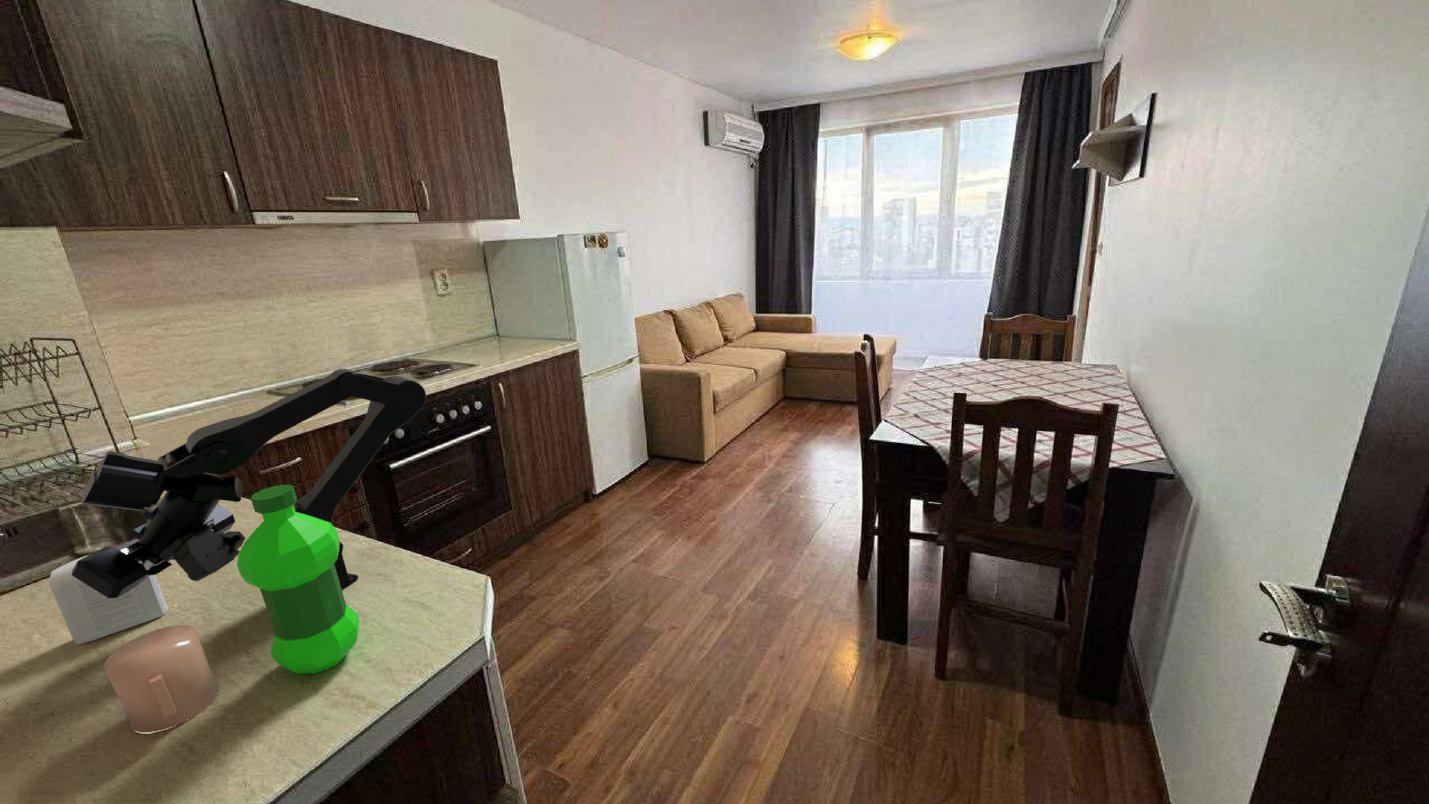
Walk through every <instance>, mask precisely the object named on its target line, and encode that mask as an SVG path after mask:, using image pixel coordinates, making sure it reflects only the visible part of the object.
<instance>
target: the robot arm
mask: <svg viewBox="0 0 1429 804" xmlns="http://www.w3.org/2000/svg"><path fill="white" fill-rule="evenodd" d="M352 397H354V398H358V399H362V400H366V401H369V404H368V406H367V407H368V408H367V411H366V415H365V418H364V420H363V421H361V424H360V425H359V426H358V427H357V429H356V430H355V431H354V433H352V435H351V437H350V438H349V439H348V441H347V442H346V443H345V444H344V446H343V447H341V450H340V451H339V452H338V453H337V455H336V456H335V457H334V459H333V460H332V461H331V463H329V465H328V466H327V468H326V470H325V471H324V472H323V473H322V474H321V475H320V477H319V478H318V479H317V481H316V482H315V484H314V485H313V487H311V489H310V490H309V491H308V492H307V493H306V494H305V495H303V496H301V497H300V498H297V501H296V503H295V504H293V505H294V509H295V512H298V513H302V514H305V515H309V516H312V517H315V518H318V519H321V520H324V521H327V522H329V523H331V524H332V523H333V521H334V517H335V514H336V513H335V512H336V510H337V507H338V506H339V505H340V503H341V502H342V501H343V500H344V498H345V496H346V495H347V494H348V493H349V491H350V490H351V488H352V487H353V486H354V484H355V483H356V482H357V480H358V479H359V477H360V476H361V475H362V474H363V472H364V471H365V469H366V468H367V467H368V465H369V464H370V463H371V461H372V460H373V459H374V457H375V456H376V455H377V453H379V452H378V451H379V450H381V448H382V446H383V445H384V443H386V441H387V439H388V438H389V437H390V436H391V434H392V433H394V432H395V431H397V430H398V429H400V428H401V427H403V426H404V425H406V424H407V423H409V422H410V421H411V420H412V419H413V418H414V417H415V416H416V415H417V414H418V413H419V412H420V411H421V410H422V409H423V408H424V407H425V404H426V403H427V399H428V397H427V395H426V390H425V388H424V387H423V386H422V385H421V384H420V383H419V382H417V381H415V380H412V379H409V378H406V377H404V376H401V375H392V376H386V377H385V378H383V377H378V376H375V375H370V374H365V373H360V372H355V371H352V370H350V369H347V368H339V369H335V370H334V371H332V372H331V373H330V374H329V375H327V376H325V377H322V379H319V380H317V381H315V382H313V383H311V384H308V385H307V386H305V387H303V388H301V389H299V390H296V391H294V392H293V393H291V394H289V395H287V396H285V397H282V398H281V399H279V400H277V401H274V402H272V403H271V404H269V405H266V406H264V407H263V408H261V409H258V410H256V411H254V412H252V413H248V414H244V415H241V416H235V417H231V418H227V419H224V420H221V421H217V422H215V423H211V424H209V425H206V426H203V427H200V428H197V429H196V430H194V431H193V432H191V433H190V435H189V436H188V437H187V439H186V442H185V443H183V444H181V445H180V446H178V447H176V448H174V449H171V451H168V452H167V453H165V454H163V455H161V456H159V457H158V458H157V460H156V459H155V460H154V459H149V458H145V457H144V458H143V457H140V456H139V457H138V456H132V455H127V454H125V453H123V452H119V451H113V450H108V451H106V453H105V454H104V457H103V459H102V460H100V462H99V464H98V466H97V467H96V469H95V470H93V471H92V472H91V474H90V477H89V479H88V482H87V484H86V485H85V488H84V491H83V494H82V497H81V501H80V504H82V505H89V506H99V507H106V508H115V509H123V510H130V511H131V510H132V511H138V512H141V511H143V510H144V509H145V508H147V509H146V510H144V511H145V512H144V513H143V516H144V517H145V518H147V519H148V520H147V521H146V523H144V524H142V525H140V526H138V527H136V528H134V529H133V530H132V532H131V533H130V535H131V536H132V537H134V538H135V539H137V540H138V541H137V540H135V539H132V540H130V541H128V542H127V543H124V544H122V545H121V546H118V547H115V546H103V547H102V548H100V549H98V550H96V551H94V552H91V554H88V556H87V555H85V556H86V557H84V556H83V557H84V558H83V559H81V560H79V561H77V563H76V565H75V566H74V568H73V569H72V576H74V577H75V578H77V579H78V580H80V581H82V582H83V583H85V584H86V585H88V586H90V587H91V588H93V589H94V590H96V591H98V592H99V593H101V594H102V595H104V596H106V597H107V598H118V597H119V596H121V595H123V594H124V593H126V592H128V591H129V590H131V589H132V588H134V587H136V586H137V585H138V584H139V583H140V582H142V581H143V580H145V579H146V578H147V577H148V576H150V575H156V576H157V574H160V573H161V572H162V571H164V570H166V569H168V568H169V567H170V566H173V563H171V562H170V561H175V562H176V564H178V566H179V567H180V568H181V569H182V570H183V571H184V573H186V575H187V577H188V578H189V580H191V581H193V582H198V581H201V580H203V579H204V578H207V577H208V576H210V575H212V574H215V573H217V572H218V571H219V570H221V569H222V568H224V567H225V566H226V565H228V564H229V563H232V562H233V560H234V561H235V559H236V557H238V556H239V552H240V551H241V550H239V549H240V548H242V547H243V545H244V543H245V541H246V536H244V535H243V533H242V532H241V531H239V530H238V531H237V530H236V531H230V530H231V528H233V525H234V524H235V523H236V519H235V517H234V513H233V512H230V510H228V509H226V508H225V507H224V506H221V505H220V501H226V502H233V503H239V502H241V500H242V492H243V482H242V481H241V480H240V479H238V478H237V476H236V475H232V476H231V475H230V476H222V475H223V474H226V473H229V472H231V471H234V470H235V469H237V468H238V467H240V466H241V465H242V464H244V463H245V462H246V461H248V460H249V459H250V458H252V457H253V456H254V455H256V454H257V453H258V452H259V451H260V450H261V449H262V448H263V447H264V446H265V445H266V444H267V443H268V442H269V441H271V440H272V439H273V438H275V437H276V436H278V435H280V434H281V433H284V432H286V431H288V430H289V429H291V428H294V427H295V426H298V425H299V424H301V423H303V422H305V421H307V420H309V419H311V418H312V417H314V416H316V415H318V414H320V413H322V412H323V411H325V410H326V411H327V409H330V408H331V407H333V406H335V405H337V404H339V403H340V402H343V401H345V400H346V399H349V398H352ZM164 492H165V493H164ZM163 494H164V495H163ZM162 495H163V496H162ZM161 497H162V498H161ZM160 499H161V500H160ZM152 505H154V506H152ZM332 525H333V524H332ZM343 551H344V544H343V543H342V542H341V541H340V540H339V553H338V557H337V560H336V561H335V563H334V565H335V568H336V572H337V575H338V579H339V582H340V586H341V589H342V590H344V588H346V587H348V586H349V585H351V584H352V583H354V582H355V581H357V580H359V575H358V574H355V573H349V572H348V570H347V566H346V564H345V563H346V562H345V560H344V556H343Z"/></svg>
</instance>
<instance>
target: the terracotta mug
mask: <svg viewBox="0 0 1429 804" xmlns="http://www.w3.org/2000/svg"><path fill="white" fill-rule="evenodd" d="M103 666H104V667H103V668H104V670H105V672H106V674H107V677H108V679H109V681H110V683H111V685H112V687H113V689H114V692H115V694H116V696H117V698H118V701H119V702H120V704H121V705H120V706H121V707H122V709H123V711H124V713H125V715H126V718H127V720H128V722H129V725H130V727H131V728H133V729H134V730H135V731H139V732H150V731H151V732H152V731H158V730H163V729H166V728H169V727H173V726H175V725H178V724H180V723H182V722H184V721H186V720H187V719H190V720H192V719H193V718H194V717H193V716H195V717H196V716H198V715H199V714H200V713H202V712H203V711H204V710H206V709H207V708H208V707H209V706H210V705H211V704H212V702H214V701H215V700H216V697H217V695H218V693H219V686H218V685H217V681H216V680H215V676H214V674H213V671H212V669H211V666H210V663H209V661H208V659H207V657H206V653H205V651H204V648H203V646H202V644H201V641H200V638H199V636H198V633H197V630H196V628H195V627H194V626H192V625H190V624H176V625H170V626H166V627H165V626H164V627H163V628H159V629H155V630H152V631H149V632H148V633H145V634H142V635H140V636H138V637H136V638H135V639H132V640H130V641H129V642H127V643H125V644H123V645H122V646H120V647H119V648H117V649H116V650H115V651H114V652H112V654H111V655H109V656H108V658H107V659H106V660H105V662H104V665H103ZM201 711H202V712H201ZM197 714H198V715H197ZM192 717H193V718H192ZM191 718H192V719H191ZM186 722H187V721H186ZM184 723H185V722H184ZM180 725H181V724H180ZM178 726H179V725H178ZM133 729H132V730H133Z"/></svg>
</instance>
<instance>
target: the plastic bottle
mask: <svg viewBox="0 0 1429 804" xmlns="http://www.w3.org/2000/svg"><path fill="white" fill-rule="evenodd" d="M250 500H251V503H252V507H253V509H254V512H255V513H257V514H260V515H261V517H262V519H263V521H262V522H261V523H260V524H259V525H258V526H257V527H256V528H255V530H254V531H253V532H252V533H251V534H250V535H249V537H248V538H247V539H245V541H244V542H243V544H242V546H241V549H240V550H239V551H240V552H239V554H238V555H237V557H238V558H237V563H236V565H237V569H238V572H239V575H240V576H241V577H242V579H243V580H244V581H245V582H246V584H249V585H251V586H253V587H256V588H259V590H260V593H261V596H262V599H263V601H264V604H265V607H266V610H267V614H268V617H269V620H270V622H271V626H272V629H273V631H274V634H275V635H274V637H273V641H272V645H271V651H270V653H271V657H272V659H273V660H274V661H275V662H276V663H277V664H279V666H281V667H283V668H285V669H287V670H288V671H291V672H293V673H297V674H307V675H310V674H309V673H312V674H317V673H318V672H319V673H322V672H321V671H323V670H325V671H327V670H329V669H330V668H329V667H331V668H333V667H335V666H337V665H338V664H339V663H340V662H342V660H343V659H345V657H346V656H347V654H348V653H349V652H350V651H351V649H353V647H354V646H355V644H356V643H357V641H358V635H359V627H360V618H359V615H358V613H357V612H356V611H355V610H354V609H353V608H352V607H351V606H349V605H347V604H346V600H345V598H344V597H345V596H344V593H343V589H341V586H340V582H339V579H338V575H337V572H336V568H335V565H334V563H335V561H336V560H337V557H338V553H339V541H340V537H339V533H338V530H337V528H336V527H335V526H334V525H333V524H331V523H329V522H327V521H324V520H321V519H318V518H315V517H312V516H309V515H305V514H302V513H298V512H295V509H294V505H293V504H295V503H296V501H297V500H298V496H297V494H296V491H295V488H294V486H293V485H291V484H279V485H274V486H271V487H267V488H262V489H261V490H259V491H257V492H255V493H254V494H253V493H252V496H251V497H250ZM345 655H346V656H345ZM344 656H345V657H344ZM342 658H343V659H342ZM341 659H342V660H341ZM339 661H340V662H339ZM338 662H339V663H338ZM336 664H337V665H336ZM334 665H335V666H334ZM332 666H333V667H332ZM328 668H329V669H328ZM326 669H327V670H326ZM323 672H324V671H323Z"/></svg>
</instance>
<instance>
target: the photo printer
mask: <svg viewBox="0 0 1429 804" xmlns="http://www.w3.org/2000/svg"><path fill="white" fill-rule="evenodd" d="M88 555H89V554H88ZM88 555H85V556H82V557H79V558H77V559H74V560H72V561H70V562H67V563H66V564H64V565H61V566H59V567H57V568H55V569H54V570H52V571H51V572H50V575H49V578H50V581H49V587H50V590H51V593H52V594H53V598H55V602H56V603H57V606H58V608H59V611H60V612H61V615H62V618H63V619H64V621H65V625H66V626H67V628H68V631H69V633H70V635H71V637H72V640H73V641H74V643H75V644H77V645H82V644H86V643H89V642H93V641H95V640H99V639H100V638H104V637H106V636H110V635H112V634H115V633H118V632H121V631H124V630H127V629H130V628H132V627H135V626H139V625H141V624H144V623H146V622H149V621H152V620H155V619H157V618H159V617H162V616H164V615H166V613H167V612H168V610H169V607H168V605H167V602H166V599H165V597H164V594H163V592H162V589H161V586H160V583H159V581H158V578H157V574H156V575H150V576H148V577H147V578H146V579H145V580H143V581H142V582H140V583H139V584H138V585H137V586H136V587H134V588H132V589H131V590H129V591H128V592H126V593H124V594H123V595H121V596H119V597H118V598H107V597H106V596H104V595H102V594H101V593H99V592H98V591H96V590H94V589H93V588H91V587H90V586H88V585H86V584H85V583H83V582H82V581H80V580H78V579H77V578H75V577H74V576H72V569H73V568H74V566H75V565H76V563H77V561H79V560H81V559H83V558H84V557H86V556H88Z"/></svg>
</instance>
